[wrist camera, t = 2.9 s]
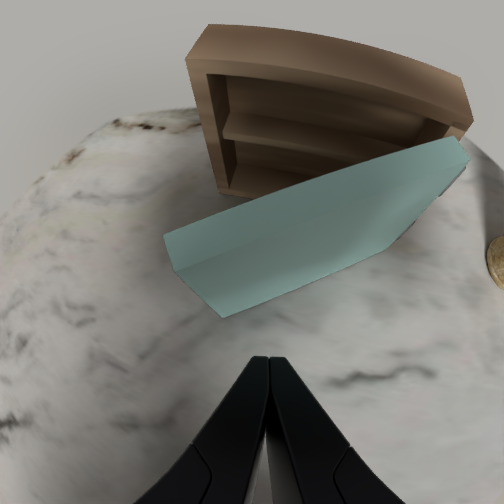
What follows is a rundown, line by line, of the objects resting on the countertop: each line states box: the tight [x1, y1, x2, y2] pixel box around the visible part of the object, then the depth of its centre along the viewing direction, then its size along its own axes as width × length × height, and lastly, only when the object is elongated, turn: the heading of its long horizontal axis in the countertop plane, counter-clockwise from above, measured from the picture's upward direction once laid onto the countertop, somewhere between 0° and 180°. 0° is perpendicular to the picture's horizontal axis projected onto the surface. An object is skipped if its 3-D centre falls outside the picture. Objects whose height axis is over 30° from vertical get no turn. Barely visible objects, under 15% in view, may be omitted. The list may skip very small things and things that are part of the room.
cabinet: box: [185, 24, 474, 199], centre depth 16 cm, size 3×12×12 cm, turn 77°
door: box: [163, 135, 471, 318], centre depth 14 cm, size 1×12×11 cm, turn 112°
